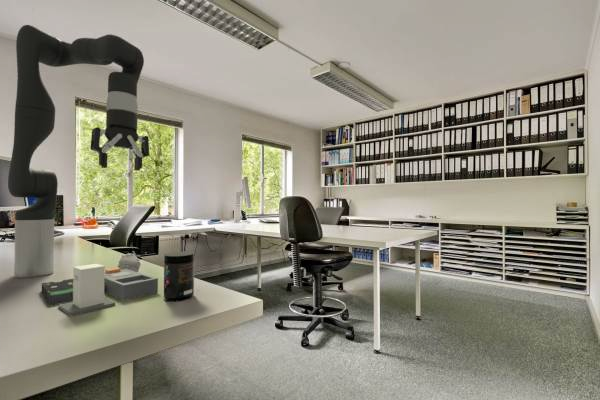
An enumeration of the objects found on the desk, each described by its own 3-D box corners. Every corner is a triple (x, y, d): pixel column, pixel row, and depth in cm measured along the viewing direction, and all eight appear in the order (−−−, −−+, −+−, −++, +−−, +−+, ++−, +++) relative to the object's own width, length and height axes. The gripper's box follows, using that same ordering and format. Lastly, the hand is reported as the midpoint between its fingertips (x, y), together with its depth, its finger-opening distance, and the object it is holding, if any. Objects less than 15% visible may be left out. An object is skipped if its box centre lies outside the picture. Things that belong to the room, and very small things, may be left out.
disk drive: (40, 294, 75) (49, 307, 65) (40, 283, 75) (49, 294, 65) (89, 286, 83) (104, 296, 73) (89, 275, 83) (104, 285, 73)
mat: (58, 307, 64) (58, 304, 64) (100, 298, 70) (100, 295, 70) (70, 316, 59) (70, 313, 59) (115, 305, 65) (115, 302, 65)
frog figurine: (136, 273, 95) (136, 251, 96) (144, 276, 91) (144, 253, 91) (114, 276, 91) (115, 253, 91) (121, 280, 86) (121, 256, 86)
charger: (72, 304, 64) (73, 266, 64) (96, 298, 68) (96, 263, 68) (79, 308, 62) (80, 269, 62) (104, 302, 65) (104, 266, 65)
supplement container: (178, 292, 75) (178, 250, 75) (200, 295, 73) (200, 252, 73) (156, 300, 69) (157, 255, 69) (179, 303, 66) (179, 257, 66)
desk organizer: (85, 283, 83) (85, 268, 83) (117, 277, 89) (117, 263, 89) (123, 300, 68) (123, 281, 68) (157, 292, 75) (157, 275, 75)
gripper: (142, 119, 92) (141, 172, 92) (87, 107, 81) (86, 167, 80) (154, 115, 87) (153, 170, 87) (98, 102, 76) (96, 165, 76)
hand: (121, 169), depth 84 cm, fingers open, 8 cm apart
